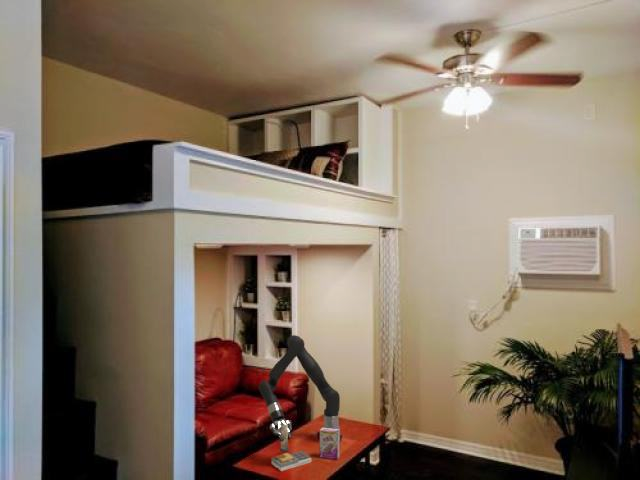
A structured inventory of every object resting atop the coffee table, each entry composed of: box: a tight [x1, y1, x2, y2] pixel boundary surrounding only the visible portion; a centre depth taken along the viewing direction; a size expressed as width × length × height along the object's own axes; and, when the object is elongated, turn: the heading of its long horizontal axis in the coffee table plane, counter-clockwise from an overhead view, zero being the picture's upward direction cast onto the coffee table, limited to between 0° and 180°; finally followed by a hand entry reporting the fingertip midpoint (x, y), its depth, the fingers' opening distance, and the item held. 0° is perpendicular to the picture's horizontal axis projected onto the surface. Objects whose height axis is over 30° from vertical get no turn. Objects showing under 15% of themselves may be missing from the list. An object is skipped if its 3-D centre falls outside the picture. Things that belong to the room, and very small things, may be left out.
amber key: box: [275, 452, 293, 463], centre depth 280 cm, size 7×7×1 cm
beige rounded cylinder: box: [279, 423, 290, 453], centre depth 280 cm, size 6×6×14 cm
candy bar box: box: [319, 427, 340, 461], centre depth 289 cm, size 11×5×16 cm, turn 74°
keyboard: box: [271, 450, 312, 472], centre depth 282 cm, size 20×11×4 cm, turn 124°
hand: (286, 439), depth 278 cm, fingers closed on beige rounded cylinder, 4 cm apart
